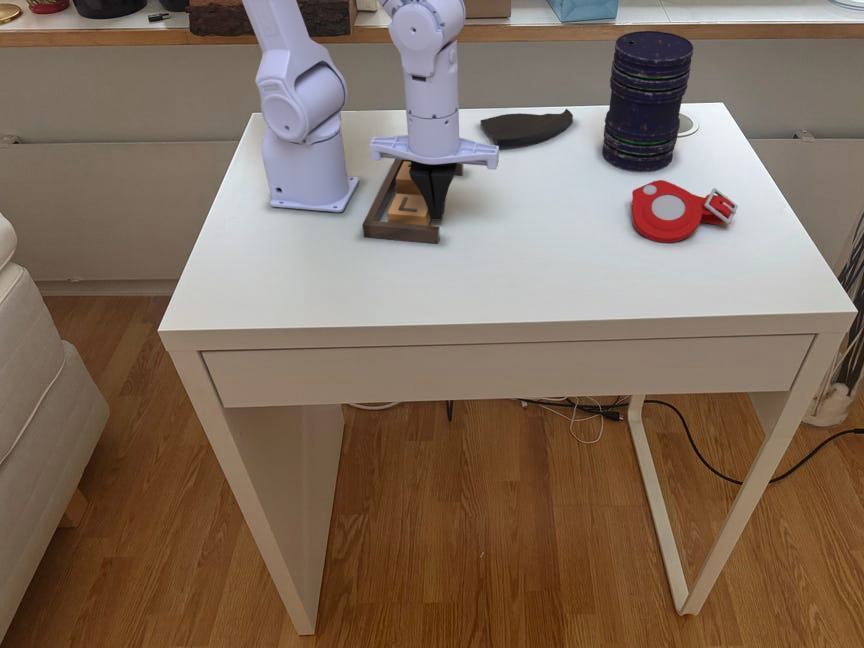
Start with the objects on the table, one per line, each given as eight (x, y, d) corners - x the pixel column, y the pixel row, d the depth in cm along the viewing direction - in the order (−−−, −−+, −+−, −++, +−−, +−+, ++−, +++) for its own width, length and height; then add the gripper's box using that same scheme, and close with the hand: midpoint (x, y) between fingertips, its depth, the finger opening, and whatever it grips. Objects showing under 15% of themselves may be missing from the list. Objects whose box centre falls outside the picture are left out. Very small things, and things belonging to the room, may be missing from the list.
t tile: (396, 193, 95) (395, 177, 93) (404, 176, 98) (403, 160, 96) (431, 196, 94) (430, 180, 93) (438, 178, 97) (438, 163, 96)
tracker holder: (657, 245, 84) (613, 187, 89) (653, 268, 88) (612, 211, 93) (748, 203, 85) (701, 148, 90) (741, 227, 89) (695, 173, 94)
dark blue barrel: (675, 142, 105) (696, 34, 94) (671, 176, 98) (693, 63, 87) (605, 134, 106) (618, 27, 96) (596, 167, 100) (609, 56, 89)
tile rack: (363, 237, 88) (362, 224, 86) (397, 167, 100) (396, 154, 98) (438, 244, 86) (437, 231, 85) (463, 172, 99) (463, 160, 97)
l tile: (388, 229, 89) (387, 212, 87) (397, 208, 92) (396, 192, 91) (426, 232, 88) (425, 215, 87) (433, 211, 92) (432, 195, 90)
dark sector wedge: (585, 137, 106) (586, 127, 105) (495, 151, 103) (495, 140, 102) (563, 113, 112) (564, 102, 110) (478, 125, 109) (478, 114, 107)
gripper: (503, 96, 82) (501, 202, 91) (376, 87, 83) (387, 193, 93) (494, 124, 77) (493, 234, 86) (359, 115, 78) (372, 224, 88)
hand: (437, 215), depth 89 cm, fingers closed
